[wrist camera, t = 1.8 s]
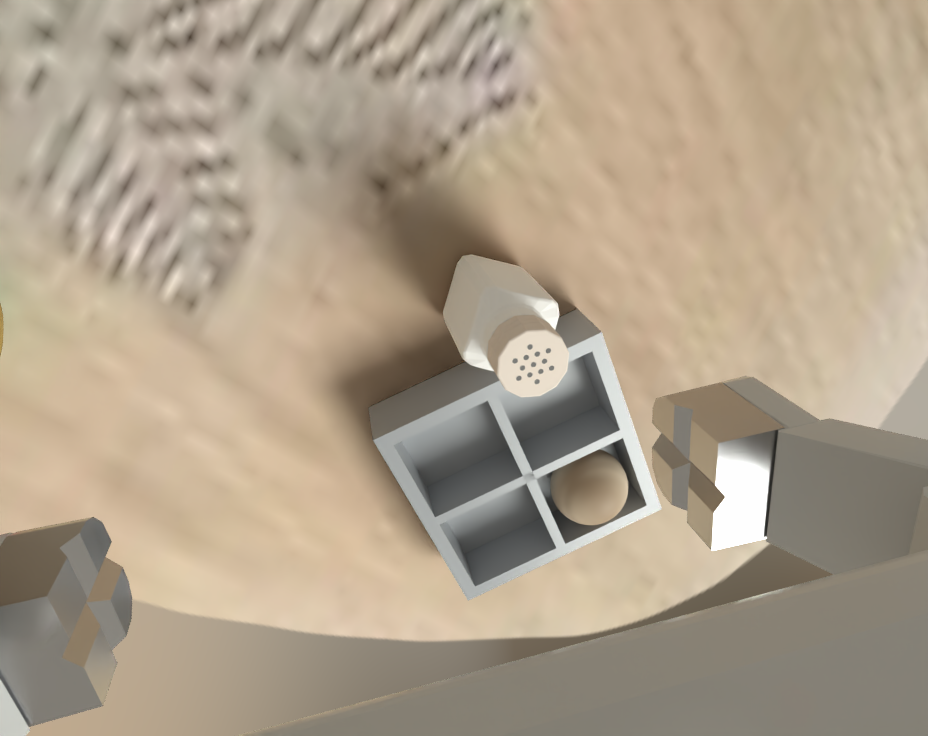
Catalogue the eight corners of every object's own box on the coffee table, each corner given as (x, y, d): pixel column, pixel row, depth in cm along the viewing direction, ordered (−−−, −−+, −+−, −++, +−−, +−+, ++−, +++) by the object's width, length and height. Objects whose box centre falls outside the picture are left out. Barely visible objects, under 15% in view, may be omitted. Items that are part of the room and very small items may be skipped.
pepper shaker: (527, 265, 35) (592, 330, 27) (505, 332, 37) (560, 413, 28) (458, 248, 34) (504, 310, 26) (437, 318, 36) (474, 398, 27)
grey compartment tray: (577, 308, 37) (601, 332, 34) (636, 475, 43) (661, 509, 40) (368, 407, 37) (372, 440, 34) (457, 560, 43) (468, 600, 40)
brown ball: (598, 421, 40) (629, 462, 36) (618, 475, 42) (650, 520, 38) (530, 453, 40) (554, 498, 36) (553, 505, 42) (579, 553, 38)
